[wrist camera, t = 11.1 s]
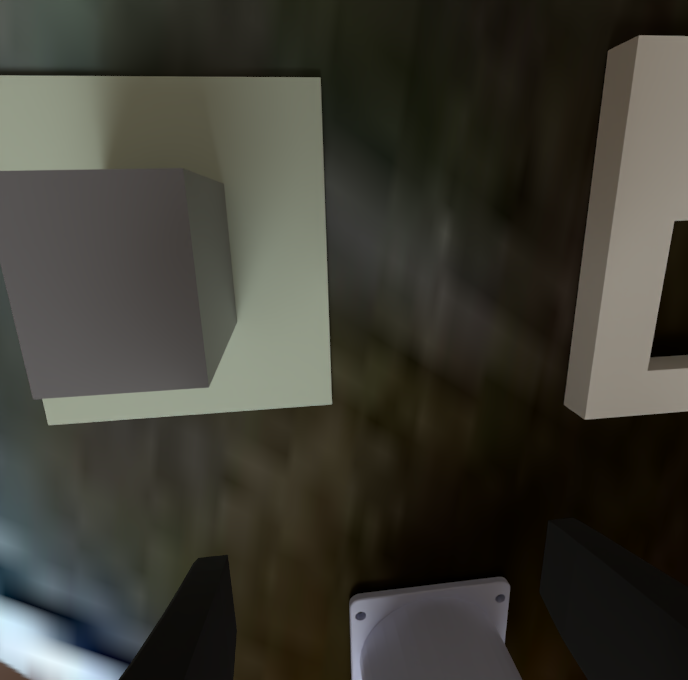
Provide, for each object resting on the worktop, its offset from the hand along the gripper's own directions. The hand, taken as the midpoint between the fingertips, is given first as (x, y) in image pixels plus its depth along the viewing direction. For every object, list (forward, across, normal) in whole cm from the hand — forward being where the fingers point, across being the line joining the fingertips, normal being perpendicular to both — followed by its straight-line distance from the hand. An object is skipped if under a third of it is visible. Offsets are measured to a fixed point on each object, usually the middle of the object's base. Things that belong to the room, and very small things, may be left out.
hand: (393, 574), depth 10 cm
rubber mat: (+9, +6, -6) cm, 13 cm away
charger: (+9, +6, -6) cm, 13 cm away
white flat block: (+9, -15, -6) cm, 19 cm away
